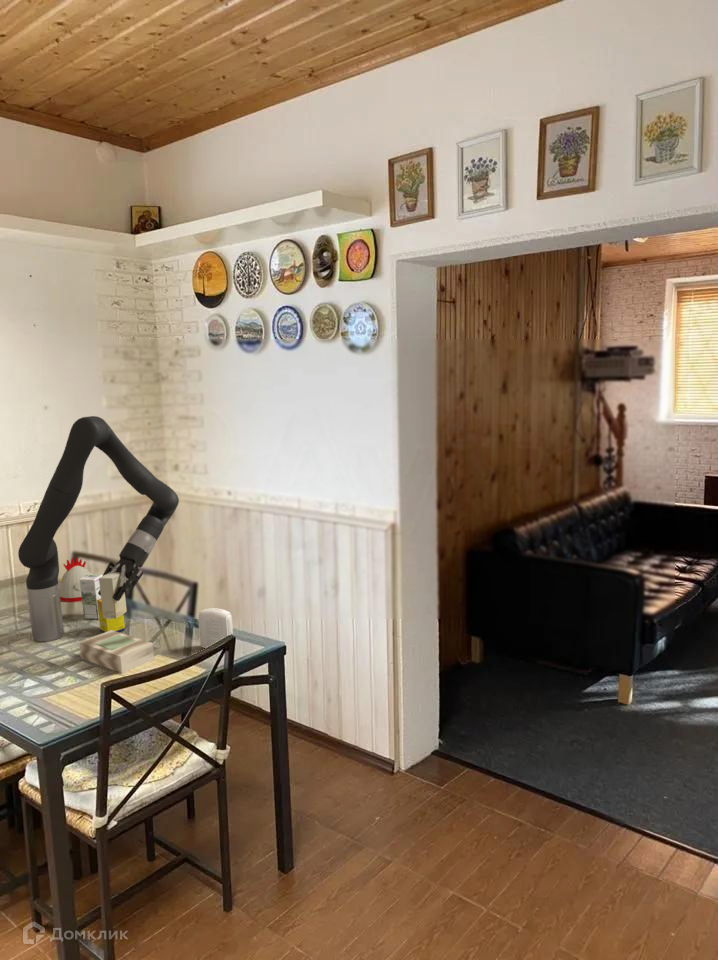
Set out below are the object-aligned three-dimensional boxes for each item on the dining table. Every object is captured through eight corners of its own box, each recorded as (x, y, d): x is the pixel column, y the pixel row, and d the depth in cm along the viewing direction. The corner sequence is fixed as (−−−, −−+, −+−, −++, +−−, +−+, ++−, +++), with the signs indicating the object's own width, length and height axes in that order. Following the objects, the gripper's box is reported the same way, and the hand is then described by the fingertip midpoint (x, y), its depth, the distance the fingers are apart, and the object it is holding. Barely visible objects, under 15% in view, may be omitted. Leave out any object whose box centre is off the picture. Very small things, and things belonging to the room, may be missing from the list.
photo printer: (236, 646, 217) (233, 607, 215) (229, 652, 213) (226, 612, 211) (205, 643, 220) (202, 605, 218) (198, 649, 216) (195, 610, 214)
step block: (81, 658, 214) (79, 641, 213) (113, 645, 222) (111, 629, 221) (122, 673, 202) (120, 655, 201) (154, 659, 211) (152, 642, 210)
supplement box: (117, 626, 239) (113, 594, 237) (125, 630, 235) (122, 598, 233) (99, 631, 235) (96, 599, 233) (108, 635, 231) (104, 603, 229)
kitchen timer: (53, 596, 273) (48, 558, 270) (89, 587, 282) (85, 550, 280) (67, 604, 263) (63, 565, 260) (104, 595, 272) (100, 556, 269)
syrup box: (107, 613, 251) (103, 573, 249) (98, 620, 245) (94, 579, 243) (92, 613, 252) (88, 573, 250) (83, 619, 246) (78, 578, 244)
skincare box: (116, 619, 207) (112, 578, 205) (102, 618, 208) (98, 578, 206) (127, 611, 213) (123, 571, 211) (113, 610, 214) (109, 571, 212)
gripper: (115, 538, 217) (84, 587, 210) (145, 544, 209) (114, 595, 202) (131, 551, 222) (101, 599, 215) (161, 557, 214) (132, 608, 207)
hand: (108, 597), depth 208 cm, fingers closed on skincare box, 6 cm apart
